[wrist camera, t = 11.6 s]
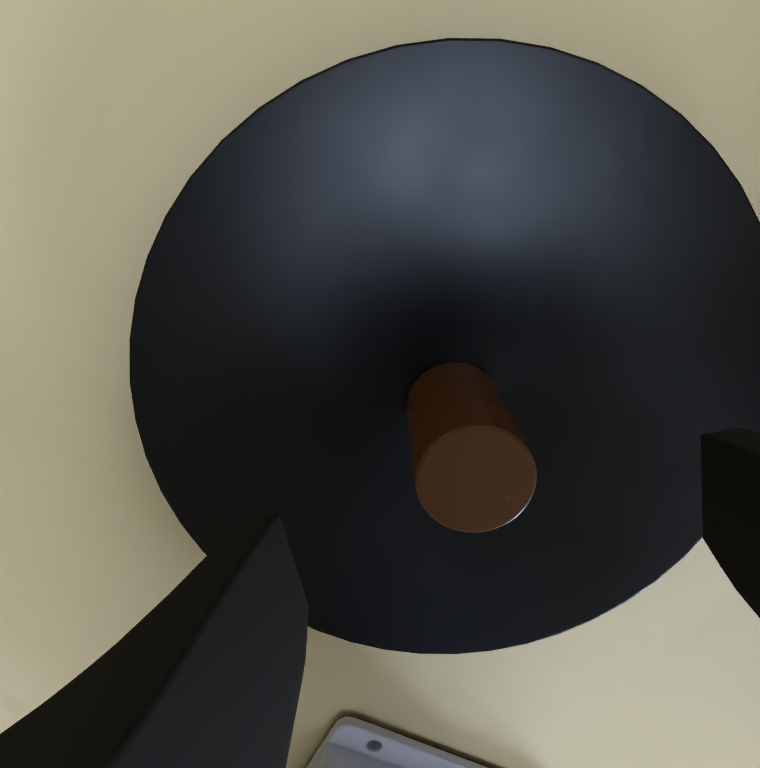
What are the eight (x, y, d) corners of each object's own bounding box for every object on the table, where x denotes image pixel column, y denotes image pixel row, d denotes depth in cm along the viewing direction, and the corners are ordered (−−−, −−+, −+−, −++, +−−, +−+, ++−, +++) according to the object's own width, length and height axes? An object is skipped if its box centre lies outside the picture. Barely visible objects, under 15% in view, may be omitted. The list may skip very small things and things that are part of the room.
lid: (68, 504, 17) (-51, 629, 13) (296, -108, 12) (241, -292, 7) (541, 695, 20) (591, 860, 15) (893, 256, 15) (1139, 295, 10)
